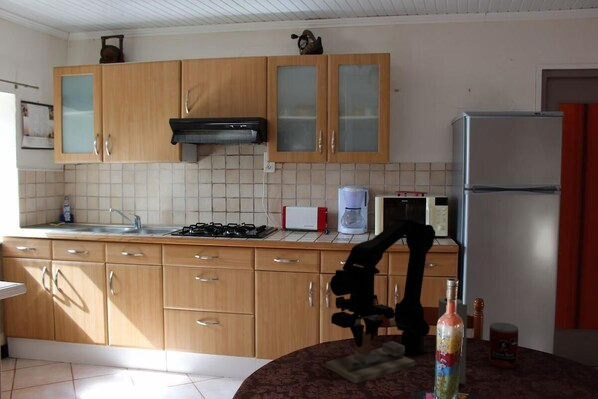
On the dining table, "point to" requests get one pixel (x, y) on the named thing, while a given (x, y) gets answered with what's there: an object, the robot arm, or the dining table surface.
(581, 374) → the dining table surface
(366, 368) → the board
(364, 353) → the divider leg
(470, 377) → the dining table surface
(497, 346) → the canned food
